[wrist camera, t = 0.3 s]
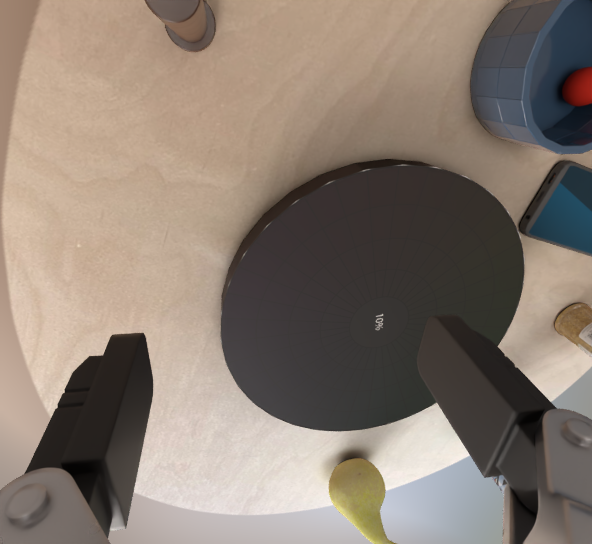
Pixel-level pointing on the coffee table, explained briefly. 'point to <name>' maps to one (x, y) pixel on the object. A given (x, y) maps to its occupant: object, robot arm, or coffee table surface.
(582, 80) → the red ball
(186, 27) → the stick
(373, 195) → the disc
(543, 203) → the smartphone
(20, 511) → the robot arm
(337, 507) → the fruit
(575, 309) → the spice jar
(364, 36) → the coffee table surface
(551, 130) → the bowl
